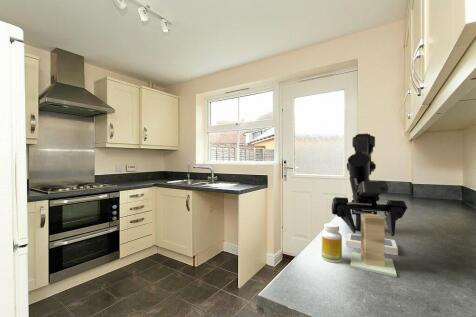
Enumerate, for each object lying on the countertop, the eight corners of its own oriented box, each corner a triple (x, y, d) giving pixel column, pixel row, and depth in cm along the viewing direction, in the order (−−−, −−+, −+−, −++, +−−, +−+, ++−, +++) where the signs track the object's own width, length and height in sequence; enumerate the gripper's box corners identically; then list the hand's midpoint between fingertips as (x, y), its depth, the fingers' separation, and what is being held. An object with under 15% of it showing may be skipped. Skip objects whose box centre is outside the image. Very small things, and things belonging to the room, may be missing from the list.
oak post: (360, 257, 64) (360, 213, 64) (378, 259, 62) (378, 214, 63) (365, 264, 59) (365, 217, 60) (384, 266, 58) (384, 218, 58)
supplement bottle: (344, 264, 61) (344, 228, 61) (323, 262, 62) (323, 226, 62) (339, 256, 66) (339, 223, 66) (320, 254, 67) (320, 221, 67)
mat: (352, 254, 68) (352, 252, 68) (392, 261, 63) (392, 259, 63) (350, 267, 59) (350, 264, 59) (396, 277, 54) (396, 274, 54)
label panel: (347, 238, 82) (347, 232, 82) (394, 246, 75) (394, 239, 75) (346, 246, 74) (346, 239, 74) (397, 255, 67) (397, 248, 67)
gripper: (333, 170, 68) (340, 215, 57) (404, 171, 63) (426, 220, 52) (329, 193, 75) (334, 236, 64) (392, 195, 70) (410, 243, 59)
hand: (373, 234), depth 60 cm, fingers open, 9 cm apart
